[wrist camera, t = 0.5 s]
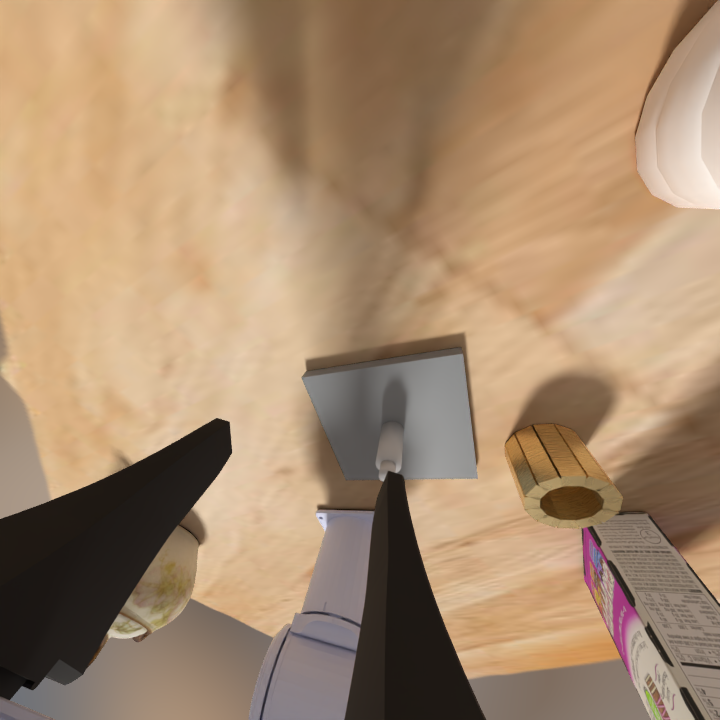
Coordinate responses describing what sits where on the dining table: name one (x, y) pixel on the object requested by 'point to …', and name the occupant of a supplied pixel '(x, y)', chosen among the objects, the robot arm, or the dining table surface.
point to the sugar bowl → (159, 590)
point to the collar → (560, 478)
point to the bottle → (685, 122)
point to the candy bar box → (656, 616)
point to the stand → (397, 416)
